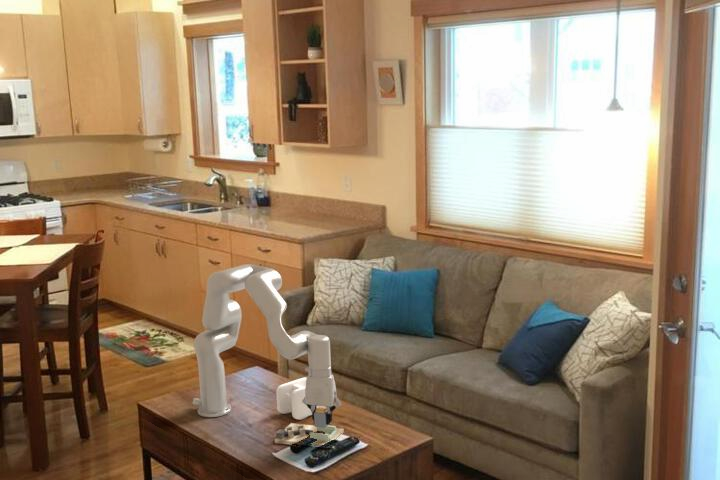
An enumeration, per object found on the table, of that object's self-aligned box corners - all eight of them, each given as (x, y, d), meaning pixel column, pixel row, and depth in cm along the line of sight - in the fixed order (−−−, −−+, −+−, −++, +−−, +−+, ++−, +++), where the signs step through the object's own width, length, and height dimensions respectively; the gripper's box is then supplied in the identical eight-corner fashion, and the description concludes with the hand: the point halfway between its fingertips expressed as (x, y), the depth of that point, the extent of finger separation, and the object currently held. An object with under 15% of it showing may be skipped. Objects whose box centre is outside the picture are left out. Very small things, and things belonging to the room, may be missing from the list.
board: (275, 442, 268) (274, 433, 268) (291, 426, 281) (290, 416, 281) (329, 449, 262) (329, 439, 262) (343, 431, 275) (343, 422, 275)
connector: (314, 426, 268) (313, 410, 267) (319, 422, 272) (318, 405, 270) (325, 428, 266) (324, 411, 265) (329, 423, 270) (329, 406, 269)
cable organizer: (293, 423, 284) (291, 392, 282) (276, 415, 292) (274, 385, 290) (325, 411, 294) (324, 382, 292) (308, 403, 302) (307, 375, 300)
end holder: (309, 439, 268) (309, 433, 267) (317, 430, 275) (317, 424, 274) (329, 441, 265) (329, 435, 265) (337, 432, 272) (337, 426, 272)
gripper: (292, 373, 265) (295, 424, 268) (339, 377, 260) (341, 429, 263) (301, 366, 272) (304, 416, 275) (347, 369, 267) (349, 420, 270)
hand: (322, 422), depth 269 cm, fingers closed on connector, 4 cm apart
